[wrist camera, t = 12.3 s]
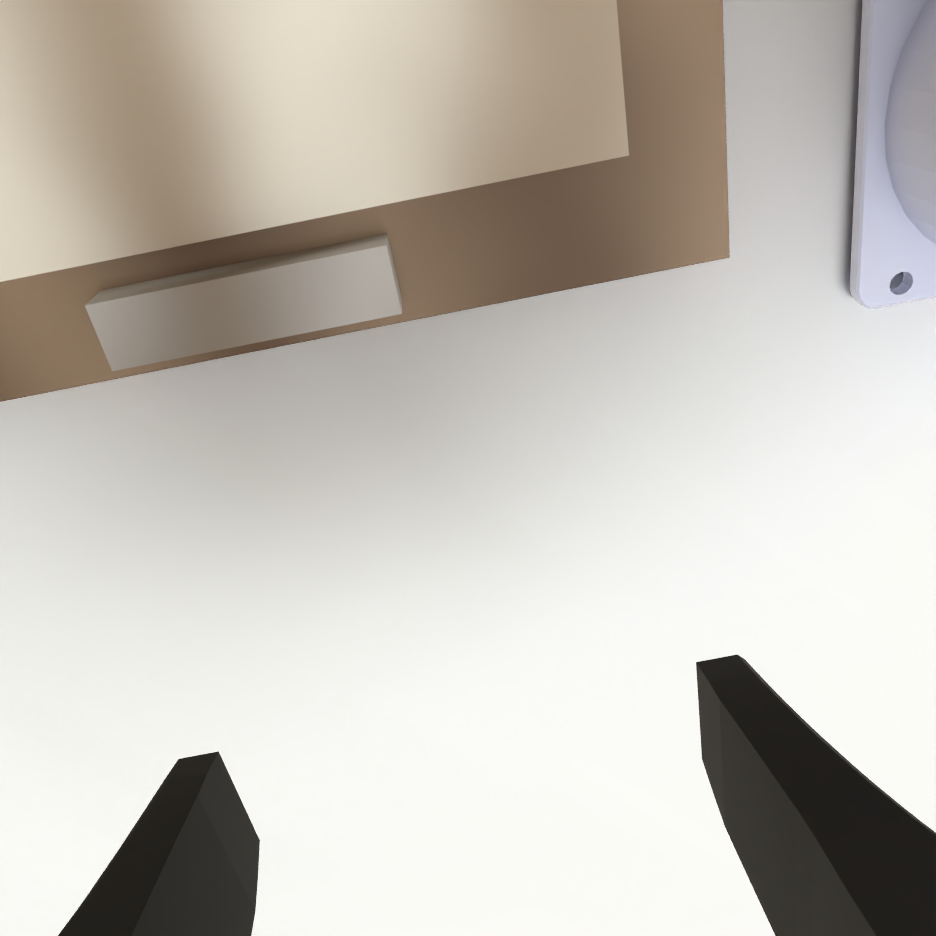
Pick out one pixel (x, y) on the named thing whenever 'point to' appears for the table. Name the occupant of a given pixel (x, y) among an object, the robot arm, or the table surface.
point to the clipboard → (336, 167)
